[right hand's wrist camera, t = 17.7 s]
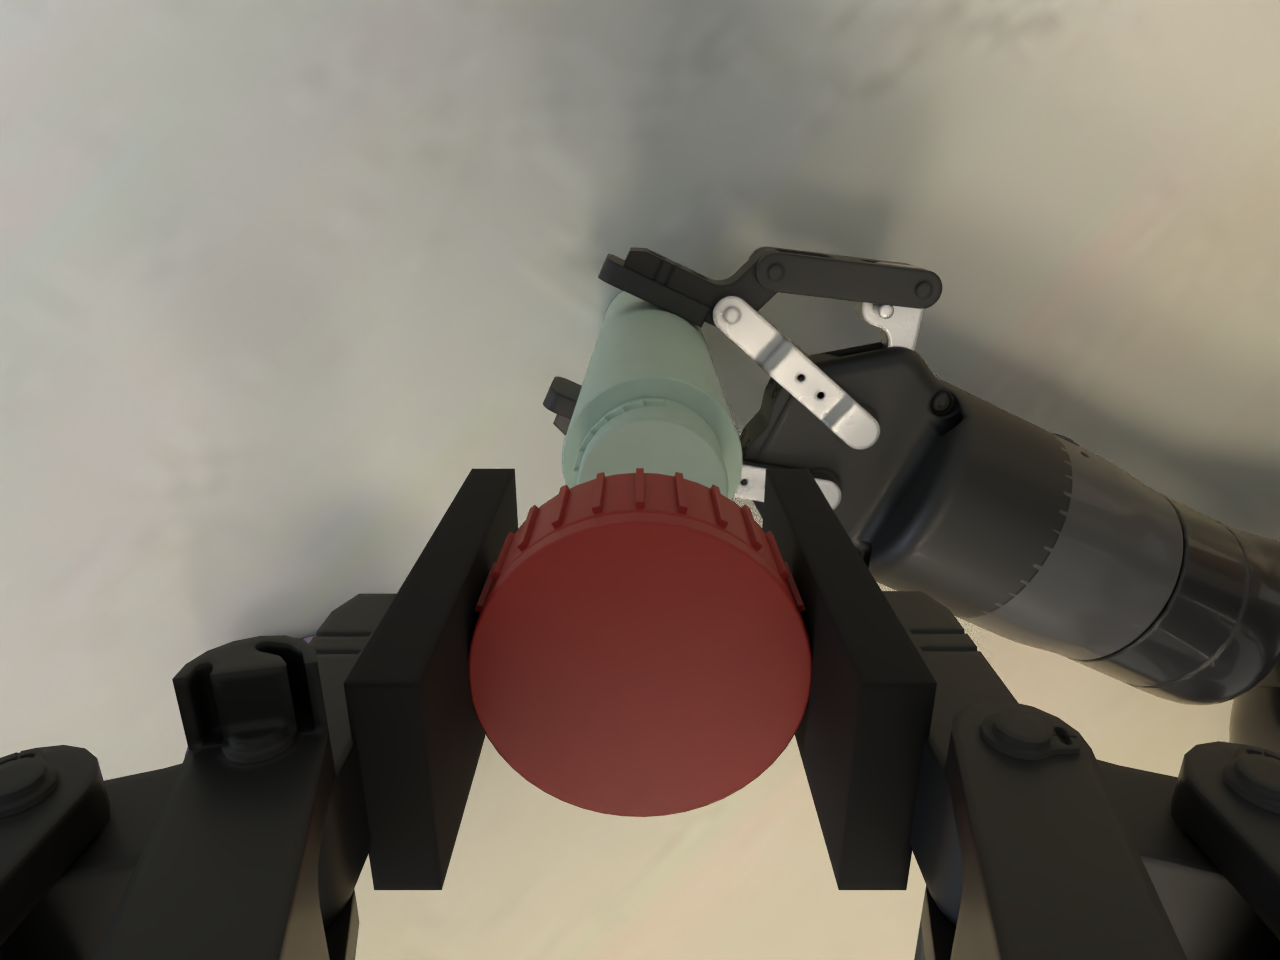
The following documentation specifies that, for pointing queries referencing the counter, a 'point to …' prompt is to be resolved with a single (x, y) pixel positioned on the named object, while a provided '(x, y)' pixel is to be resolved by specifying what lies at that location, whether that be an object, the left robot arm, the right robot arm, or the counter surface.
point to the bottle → (652, 403)
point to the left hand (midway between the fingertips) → (577, 331)
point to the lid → (640, 647)
